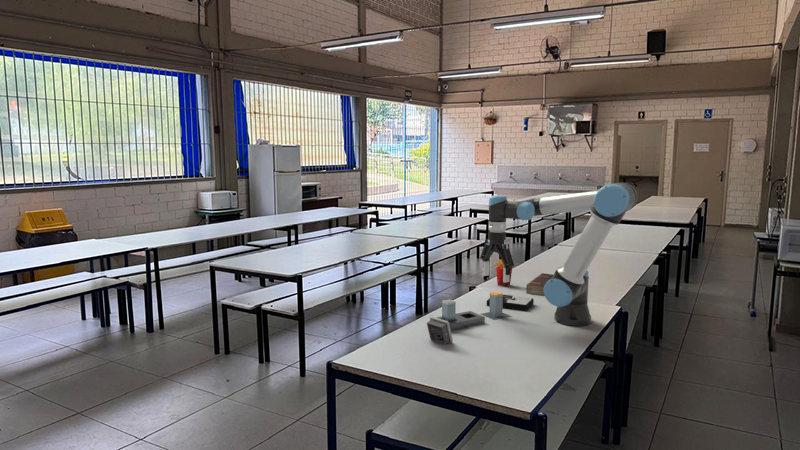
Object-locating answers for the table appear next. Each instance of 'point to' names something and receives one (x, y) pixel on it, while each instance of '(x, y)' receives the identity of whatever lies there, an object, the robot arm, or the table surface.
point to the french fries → (500, 274)
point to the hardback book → (538, 284)
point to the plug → (496, 304)
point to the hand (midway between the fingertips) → (496, 278)
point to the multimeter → (516, 302)
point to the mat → (495, 317)
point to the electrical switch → (439, 330)
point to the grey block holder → (459, 316)
